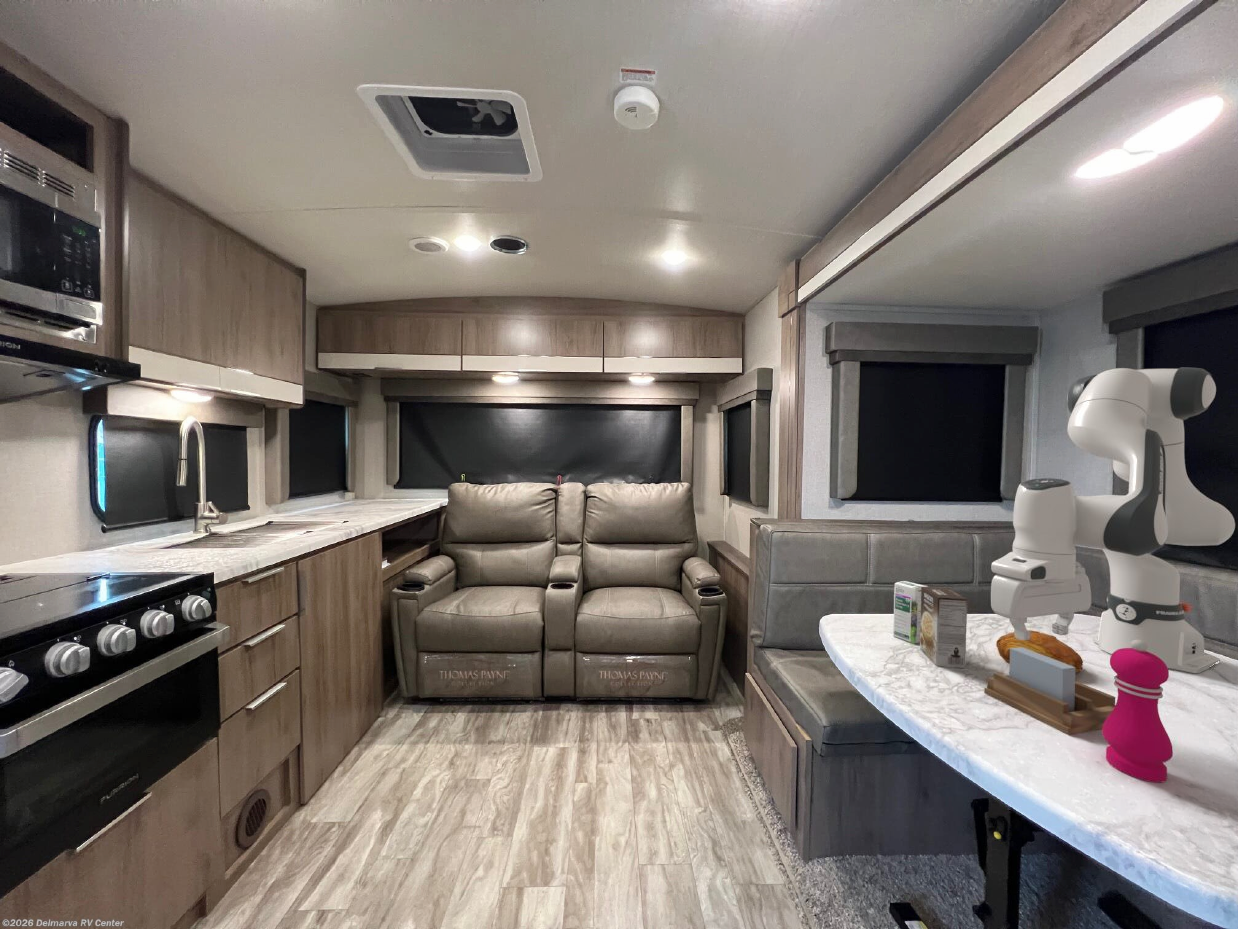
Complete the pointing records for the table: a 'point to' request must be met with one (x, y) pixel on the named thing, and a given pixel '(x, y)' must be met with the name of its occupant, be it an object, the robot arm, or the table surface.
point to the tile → (1043, 674)
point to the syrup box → (907, 611)
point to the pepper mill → (1138, 715)
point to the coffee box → (943, 626)
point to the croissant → (1040, 648)
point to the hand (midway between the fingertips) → (1041, 636)
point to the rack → (1054, 704)
